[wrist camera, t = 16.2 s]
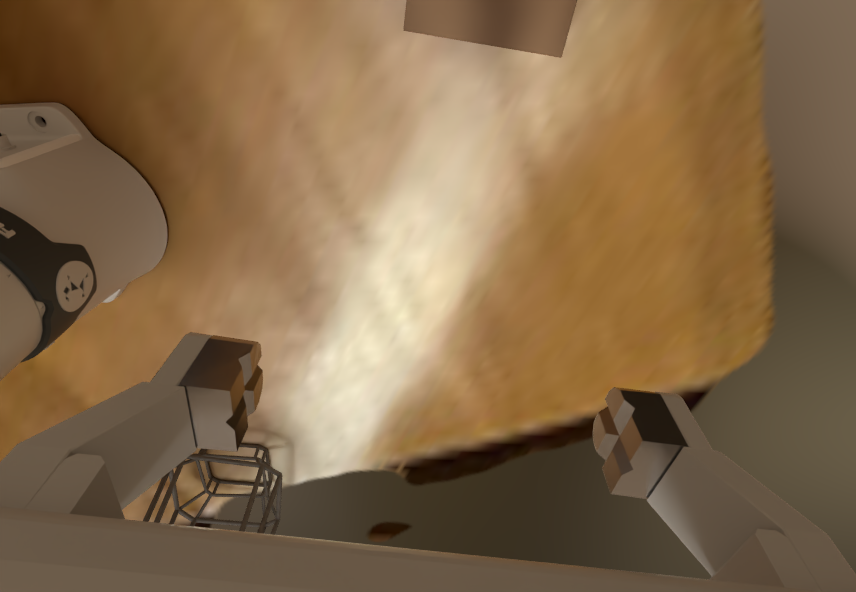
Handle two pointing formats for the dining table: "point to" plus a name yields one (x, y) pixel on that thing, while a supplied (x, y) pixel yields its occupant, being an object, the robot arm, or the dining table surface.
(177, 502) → the geometric lantern
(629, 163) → the dining table surface
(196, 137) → the dining table surface
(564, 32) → the tea box
